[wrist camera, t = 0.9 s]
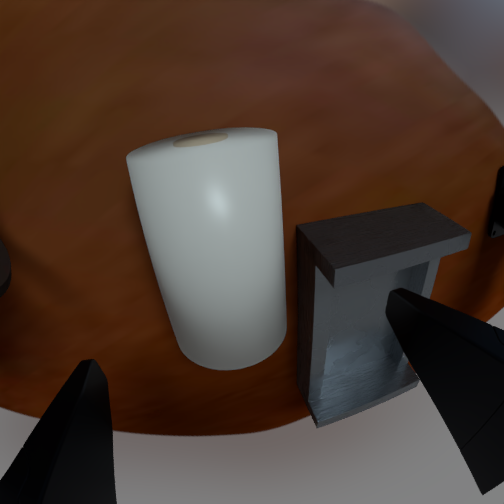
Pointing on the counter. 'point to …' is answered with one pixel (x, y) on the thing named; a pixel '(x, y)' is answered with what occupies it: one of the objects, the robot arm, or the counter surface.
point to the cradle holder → (362, 303)
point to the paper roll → (216, 241)
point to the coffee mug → (4, 269)
